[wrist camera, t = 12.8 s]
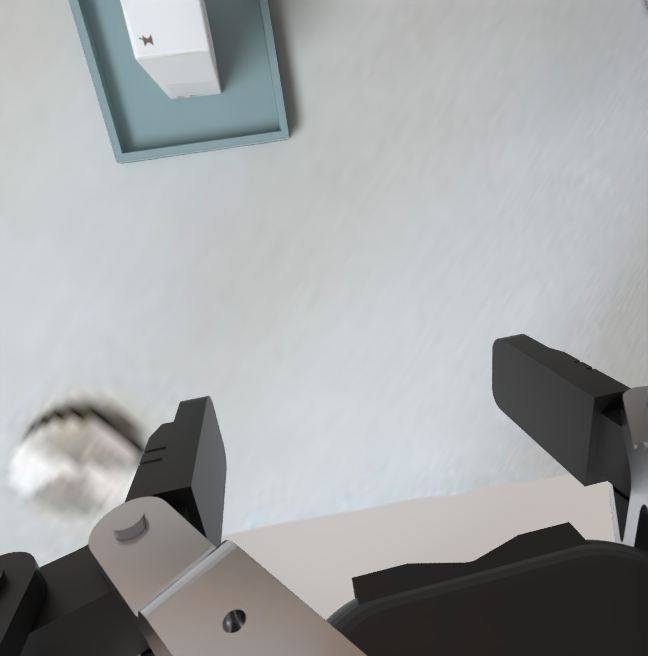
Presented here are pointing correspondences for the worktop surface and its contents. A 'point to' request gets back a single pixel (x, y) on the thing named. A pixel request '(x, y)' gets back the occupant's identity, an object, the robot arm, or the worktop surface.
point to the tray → (194, 112)
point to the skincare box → (174, 45)
